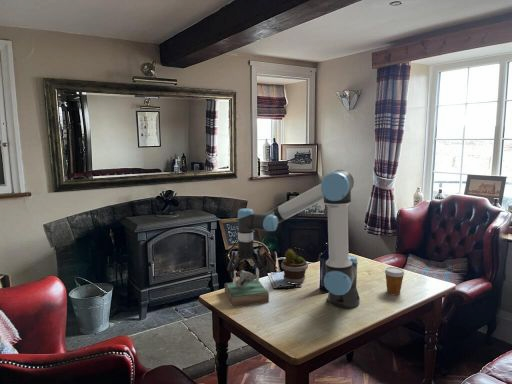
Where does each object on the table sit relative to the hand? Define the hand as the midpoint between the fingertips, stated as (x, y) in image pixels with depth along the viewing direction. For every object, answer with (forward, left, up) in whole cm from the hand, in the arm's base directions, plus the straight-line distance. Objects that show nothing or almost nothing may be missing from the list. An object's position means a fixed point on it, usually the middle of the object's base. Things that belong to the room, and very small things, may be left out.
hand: (246, 282), depth 189 cm
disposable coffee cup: (-17, -74, -8) cm, 76 cm away
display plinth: (0, 0, -7) cm, 7 cm away
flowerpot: (+12, -31, -8) cm, 34 cm away
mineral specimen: (-1, 0, -1) cm, 1 cm away
